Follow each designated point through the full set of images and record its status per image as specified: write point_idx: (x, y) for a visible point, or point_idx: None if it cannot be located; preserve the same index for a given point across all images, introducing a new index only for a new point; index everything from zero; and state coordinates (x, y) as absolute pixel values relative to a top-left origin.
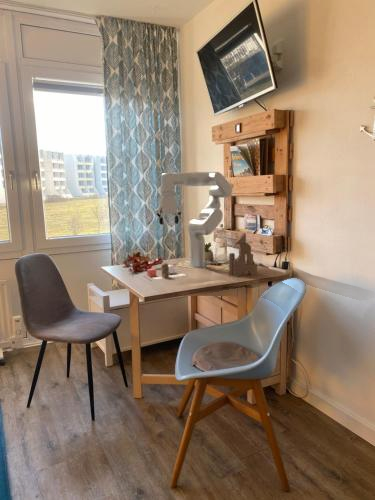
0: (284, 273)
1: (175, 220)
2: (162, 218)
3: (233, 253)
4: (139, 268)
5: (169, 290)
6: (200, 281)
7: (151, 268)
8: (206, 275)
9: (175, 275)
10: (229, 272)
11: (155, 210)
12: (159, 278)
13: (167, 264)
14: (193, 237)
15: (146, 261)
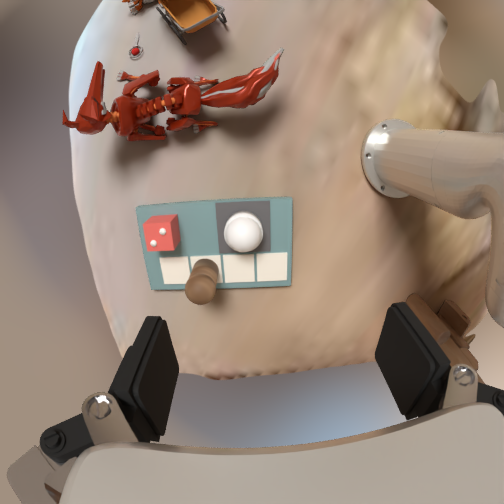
0: (475, 326)
1: (398, 350)
2: (157, 432)
3: (446, 339)
4: (134, 140)
5: (185, 362)
6: (298, 329)
7: (211, 82)
8: (357, 276)
9: (248, 266)
10: (409, 304)
11: (27, 491)
12: (181, 279)
13: (208, 300)
14: (464, 202)
15: (168, 105)
